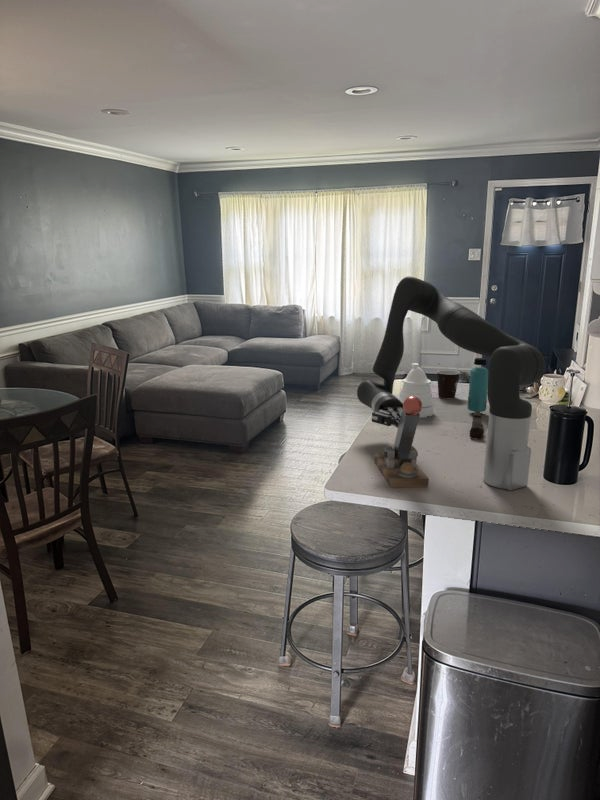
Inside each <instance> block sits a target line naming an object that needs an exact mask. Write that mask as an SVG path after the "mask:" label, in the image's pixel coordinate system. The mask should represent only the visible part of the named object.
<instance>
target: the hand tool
mask: <svg viewBox="0 0 600 800" xmlns="http://www.w3.org/2000/svg"><path fill="white" fill-rule="evenodd" d="M473 412H474V411H473ZM483 427H484V425H483V423H482V412H478V411H477V412H474V413H473V415H472V421H471V428H470V430H469V437H470V439H472V438H477V439H476V440H481V439H483V437H484V433H485V430H484V429H483Z"/></svg>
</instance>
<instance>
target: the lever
mask: <svg viewBox="0 0 600 800" xmlns="http://www.w3.org/2000/svg"><path fill="white" fill-rule="evenodd" d="M421 410H422V402H421V400H420V399H419V398H417V397H415V396H411V397H408V398H406V399H405V401H404V403H403V409H402V413H401V418H400V422H399V426H398V428H397V431H396V437H395V439H394V444H393V447H392V448H393V449H394V451H395V459H398V463H399V465H402V464H403V463H405V462H409V463H411V461H412V456H411V453H410V451H411V447H412V446H413V443H414V438H415V435H416V430H417V427H418V424H419V420H420V417H419V416H420V414H419V413H420V411H421Z"/></svg>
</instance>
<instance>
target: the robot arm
mask: <svg viewBox="0 0 600 800" xmlns="http://www.w3.org/2000/svg"><path fill="white" fill-rule="evenodd" d="M390 306H391V307H390V310H389V314H388V317H387V318H388V319H387V323H386V327H385V332H384V336H383V339H382V343H381V345H380V348H379V351H378V352H377V356H376V358H375V361H374V364H373V365H372V372H373V373H374V374H375V375H377V376H378V377H380V378H381V379H383V384H382V383H379V382H376V381H373V380H368V379H366V380H363V381H361V382H360V384H359V385H358V386H357V390H356V391H357V392H356V395H357V399H358V401H359V402H360V403H361V404H363V405H365V406H366V407H368V408H370V409H371V410H372V412H371V422H372V423H375V424H379V425H383V426H387V427H390V426H393V427H395V428H397V429H398V426H399V422H400V418H401V413H402V409H403V404H402V402H401V401H400V400H399V399H397V398H398V397H397V396H395V395H394V394H393V390H394V383H395V377H396V374H397V371H398V369H399V367H400V364H401V361H402V359H403V356H404V350H405V342H404V341H405V340H404V324H405V319H406V316H407V315H408V313H409V311H410V312H414V313H415V314H420V315H422V316H424V317H427V318H428V319H430V320H431V321H433V322H435V323H436V325H437V327H438V329H439V331H440V333H441V334H442V335H443V336H444V337H445V338H446V339H448V340H449V341H450V342H452V343H453V344H454V345H455V346H457V347H459V348H462V349H464V350H465V351H469V352H472V353H475V354H478V355H481V356H485V357H488V358H489V362H488V369H487V370H488V391H487V392H488V393H487V395H488V396H487V403H488V405H489V413H488V420H487V422H488V423H487V431H486V432H487V433H486V444H485V445H486V446H485V456H484V467H483V479H482V480H483V482H484V483H485V484H487V485H489V486H491V487H493V488H499V489H504V490H508V491H513V490H517V489H521V488H525V487H527V486H528V484H529V483H528V482H529V474H530V473H529V472H530V465H531V464H530V463H531V455H532V448H531V447H530V446H528V445H529V440H530V439H529V437H530V429H531V428H530V427H531V422H532V421H531V418H532V411H533V407H532V403H531V402H530V401H528V400H526V399H522V398H521V396H520V386H525V385H531V384H533V383H536V382H538V381H539V380H541V379H542V378H543V377H544V375H545V374H546V370H547V363H546V360H545V357H544V355H543V354H542V352H540V350H539V349H537V347H536V346H533V345H531V344H529V343H527V342H525V341H523V340H520V339H518V338H517V337H514V336H512V335H510V334H508V333H506V332H505V331H504V330H502V329H500V328H499V327H497V326H496V325H494V324H493V323H491V322H490V321H487V320H486V319H484V318H483V317H482V316H480V315H479V314H477V313H476V312H474V311H473V310H471V309H470V308H468V307H465V306H464V305H462V304H461V303H458V302H456V301H453V300H452V299H450V298H448V297H447V296H446V295H445V294H444V293H443V292H441V291H440V289H438V288H437V287H436V286H434V285H433V284H432V283H430V282H428V281H425V280H422V279H420V278H419V277H414V276H410V275H409V276H408V275H407V276H405V277H403V278H402V279H401V280H400V281H399V282H398V283H397V286H396V288H395V291H394V293H393V298H392V301H391V305H390Z"/></svg>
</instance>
